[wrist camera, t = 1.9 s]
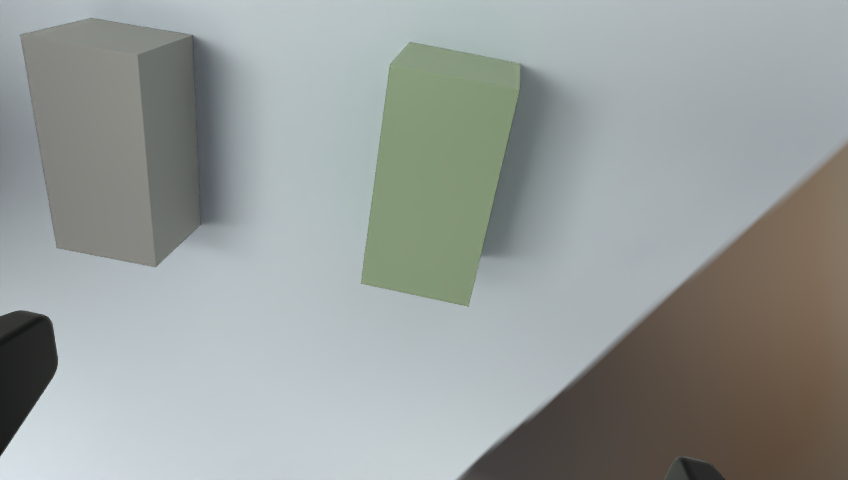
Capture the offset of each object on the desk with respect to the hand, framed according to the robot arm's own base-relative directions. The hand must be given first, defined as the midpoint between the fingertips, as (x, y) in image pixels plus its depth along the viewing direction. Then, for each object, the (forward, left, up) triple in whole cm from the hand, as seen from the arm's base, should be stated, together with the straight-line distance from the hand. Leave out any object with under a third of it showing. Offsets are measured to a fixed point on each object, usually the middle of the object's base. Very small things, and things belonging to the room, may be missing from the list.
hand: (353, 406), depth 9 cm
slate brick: (-9, -1, -11) cm, 14 cm away
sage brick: (0, 0, -11) cm, 11 cm away
